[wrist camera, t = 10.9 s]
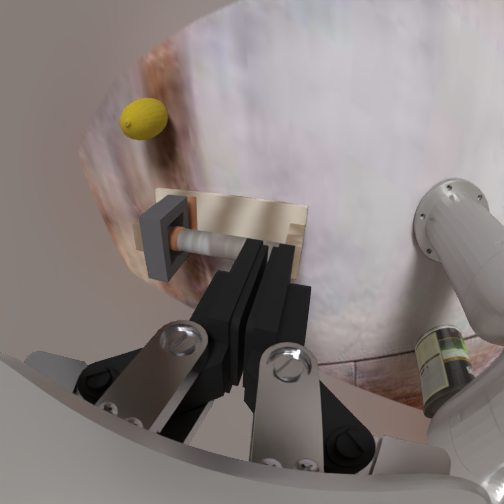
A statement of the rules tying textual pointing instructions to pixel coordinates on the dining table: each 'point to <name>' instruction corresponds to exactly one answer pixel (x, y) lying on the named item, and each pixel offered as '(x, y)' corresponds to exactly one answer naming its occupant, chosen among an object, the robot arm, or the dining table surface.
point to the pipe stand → (233, 225)
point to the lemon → (143, 119)
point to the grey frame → (163, 236)
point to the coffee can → (442, 366)
